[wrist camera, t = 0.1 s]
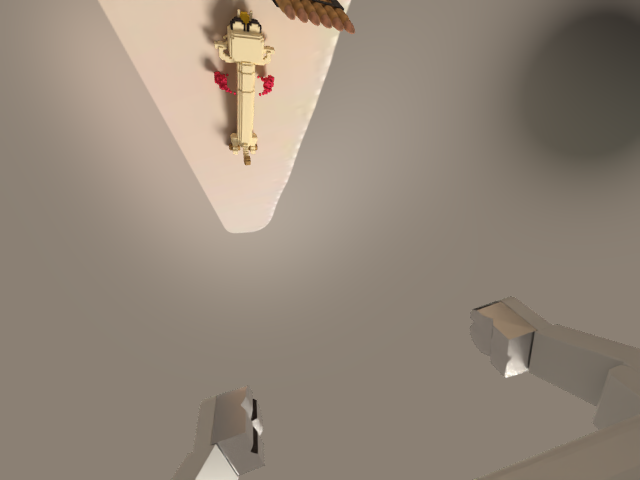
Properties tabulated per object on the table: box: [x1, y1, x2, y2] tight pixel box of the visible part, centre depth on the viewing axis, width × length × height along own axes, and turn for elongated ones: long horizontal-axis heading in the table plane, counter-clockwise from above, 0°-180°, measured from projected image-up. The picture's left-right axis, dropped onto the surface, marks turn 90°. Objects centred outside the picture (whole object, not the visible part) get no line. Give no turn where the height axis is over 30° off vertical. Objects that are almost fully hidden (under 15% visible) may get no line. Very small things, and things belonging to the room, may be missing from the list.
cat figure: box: [214, 9, 275, 165], centre depth 53 cm, size 10×9×25 cm
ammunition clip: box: [272, 0, 355, 34], centre depth 44 cm, size 11×2×12 cm, turn 73°
